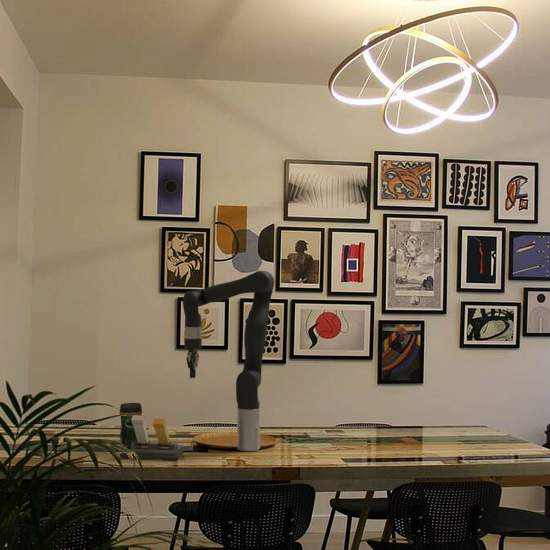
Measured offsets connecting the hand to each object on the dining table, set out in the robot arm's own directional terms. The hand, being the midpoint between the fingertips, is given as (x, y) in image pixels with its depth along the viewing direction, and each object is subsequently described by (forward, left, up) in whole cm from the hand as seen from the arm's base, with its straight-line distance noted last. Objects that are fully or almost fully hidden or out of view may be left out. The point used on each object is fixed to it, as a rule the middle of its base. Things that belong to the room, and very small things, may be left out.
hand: (192, 377), depth 333 cm
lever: (+15, +19, -25) cm, 35 cm away
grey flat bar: (+10, +29, -29) cm, 42 cm away
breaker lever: (+6, +19, -25) cm, 32 cm away
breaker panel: (+10, +20, -29) cm, 37 cm away
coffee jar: (+25, +7, -29) cm, 39 cm away
